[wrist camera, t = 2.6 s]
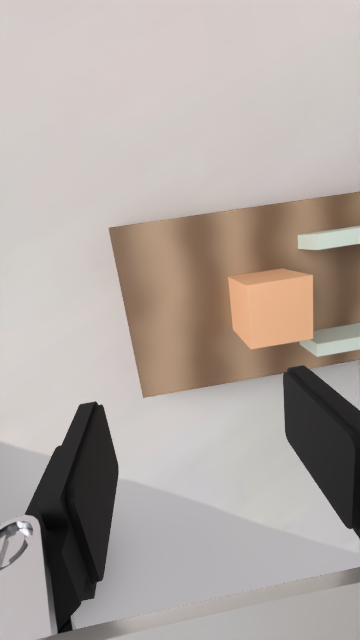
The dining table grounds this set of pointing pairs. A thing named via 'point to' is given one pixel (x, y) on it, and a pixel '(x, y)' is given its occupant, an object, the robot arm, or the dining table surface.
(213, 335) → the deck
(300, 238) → the tunnel walls
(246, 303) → the terracotta block
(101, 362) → the dining table surface
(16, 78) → the dining table surface
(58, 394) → the dining table surface
